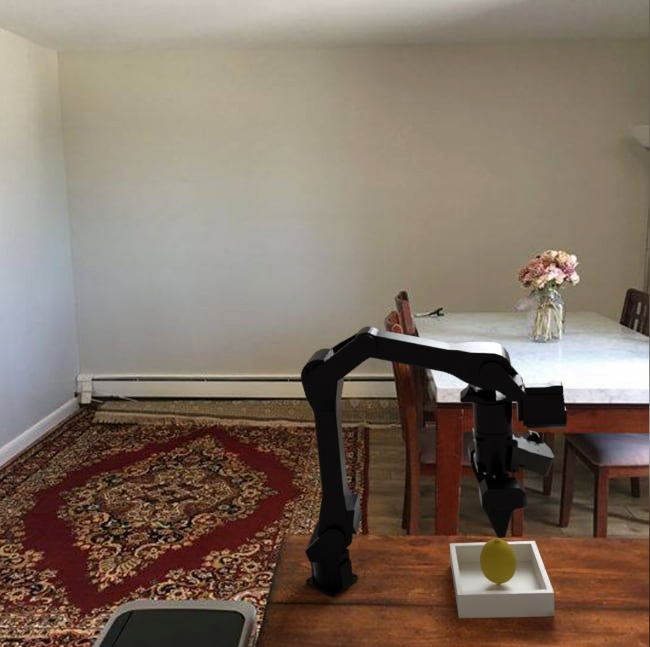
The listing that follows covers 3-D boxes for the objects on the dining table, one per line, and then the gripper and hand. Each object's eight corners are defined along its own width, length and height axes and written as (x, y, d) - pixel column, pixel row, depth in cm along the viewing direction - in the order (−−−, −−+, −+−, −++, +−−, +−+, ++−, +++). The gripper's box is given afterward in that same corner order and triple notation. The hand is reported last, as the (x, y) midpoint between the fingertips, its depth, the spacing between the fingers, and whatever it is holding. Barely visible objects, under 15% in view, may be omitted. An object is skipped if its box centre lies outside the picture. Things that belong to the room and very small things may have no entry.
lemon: (482, 571, 114) (480, 528, 112) (517, 575, 112) (516, 531, 110) (479, 592, 109) (477, 547, 107) (515, 596, 107) (514, 551, 105)
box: (458, 618, 105) (457, 594, 104) (450, 564, 118) (449, 543, 117) (554, 616, 103) (554, 592, 102) (535, 562, 117) (534, 540, 116)
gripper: (563, 451, 95) (564, 553, 98) (535, 402, 113) (537, 490, 116) (480, 454, 96) (484, 555, 99) (465, 406, 114) (469, 493, 117)
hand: (496, 521), depth 108 cm, fingers open, 9 cm apart
